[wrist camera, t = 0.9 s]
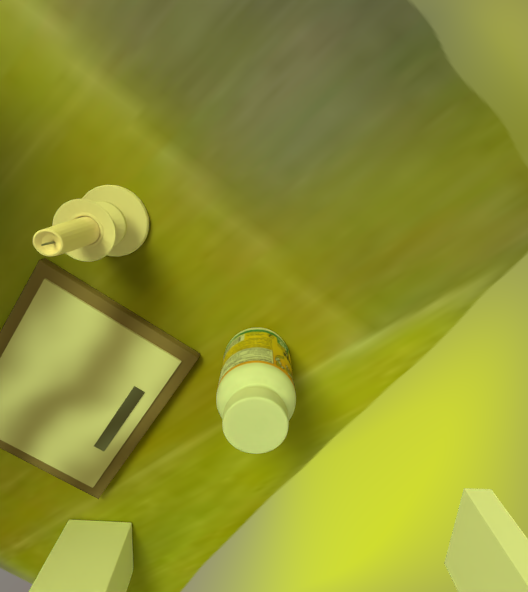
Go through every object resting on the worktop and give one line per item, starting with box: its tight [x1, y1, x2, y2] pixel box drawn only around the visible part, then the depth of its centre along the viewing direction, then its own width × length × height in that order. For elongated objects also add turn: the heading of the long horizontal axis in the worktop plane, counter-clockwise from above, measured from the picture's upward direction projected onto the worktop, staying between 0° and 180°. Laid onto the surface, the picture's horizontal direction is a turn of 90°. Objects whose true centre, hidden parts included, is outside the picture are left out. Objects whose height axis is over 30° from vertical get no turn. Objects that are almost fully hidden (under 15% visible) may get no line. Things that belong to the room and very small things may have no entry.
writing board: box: [0, 258, 200, 499], centre depth 34 cm, size 14×17×1 cm
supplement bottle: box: [216, 328, 296, 454], centre depth 29 cm, size 5×5×10 cm
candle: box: [33, 185, 149, 262], centre depth 25 cm, size 5×5×10 cm
